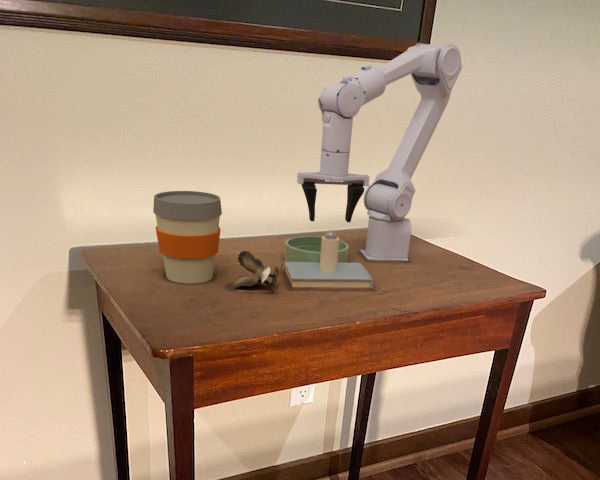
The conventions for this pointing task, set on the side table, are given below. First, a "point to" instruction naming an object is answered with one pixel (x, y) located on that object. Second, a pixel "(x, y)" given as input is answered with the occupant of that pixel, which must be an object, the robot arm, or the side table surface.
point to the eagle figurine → (255, 271)
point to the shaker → (329, 252)
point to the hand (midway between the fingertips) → (329, 220)
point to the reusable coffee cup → (188, 234)
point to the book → (328, 275)
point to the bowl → (310, 249)
